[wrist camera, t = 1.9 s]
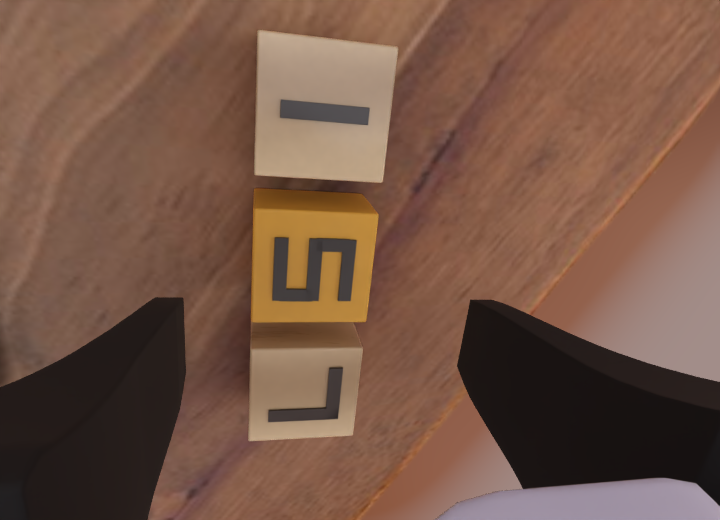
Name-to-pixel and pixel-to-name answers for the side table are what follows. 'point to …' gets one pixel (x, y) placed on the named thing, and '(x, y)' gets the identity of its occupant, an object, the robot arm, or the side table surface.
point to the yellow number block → (311, 256)
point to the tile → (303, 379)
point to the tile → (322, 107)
